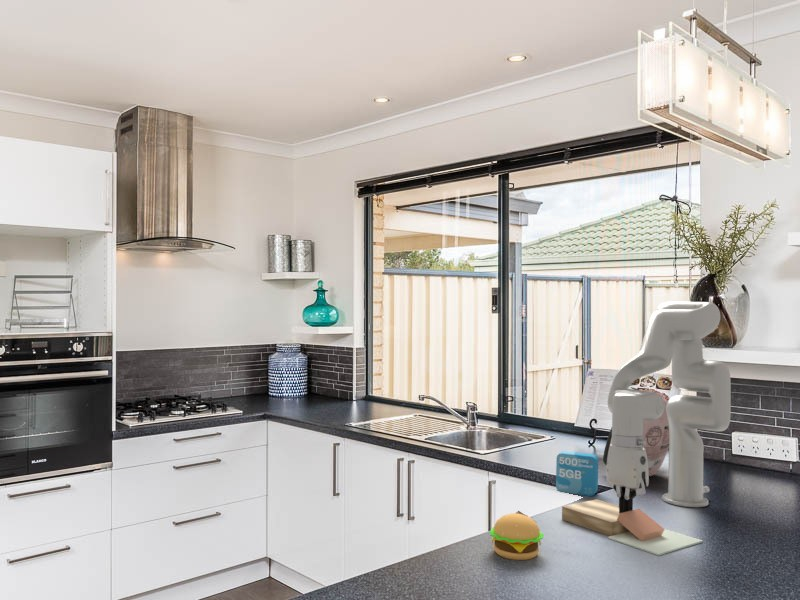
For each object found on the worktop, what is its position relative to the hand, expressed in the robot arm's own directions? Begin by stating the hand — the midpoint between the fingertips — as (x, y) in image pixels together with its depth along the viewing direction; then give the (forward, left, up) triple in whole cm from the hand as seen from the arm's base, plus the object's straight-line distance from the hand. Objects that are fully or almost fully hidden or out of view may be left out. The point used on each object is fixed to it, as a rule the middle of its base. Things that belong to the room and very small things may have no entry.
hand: (625, 513), depth 175 cm
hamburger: (+36, -3, -5) cm, 36 cm away
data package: (-19, -32, -5) cm, 37 cm away
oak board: (0, -7, -4) cm, 8 cm away
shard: (+19, -20, -5) cm, 28 cm away
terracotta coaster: (+1, +4, -2) cm, 5 cm away
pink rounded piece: (-53, -34, -5) cm, 63 cm away
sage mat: (0, +9, -4) cm, 10 cm away
